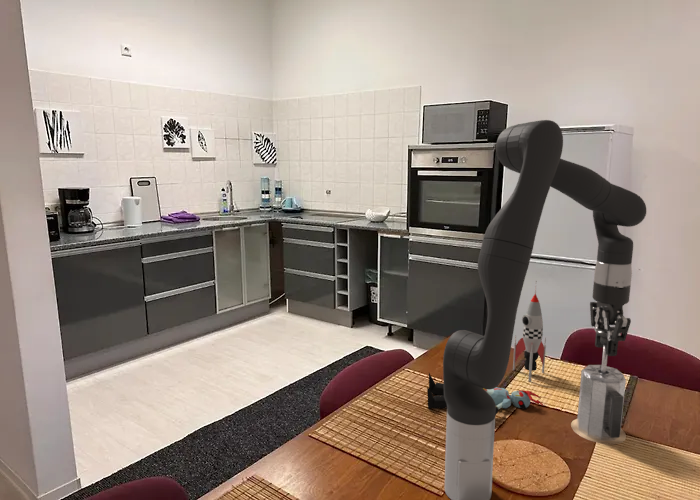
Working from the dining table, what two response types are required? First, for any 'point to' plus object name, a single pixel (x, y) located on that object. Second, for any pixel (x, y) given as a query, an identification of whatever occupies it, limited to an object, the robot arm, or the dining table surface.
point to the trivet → (618, 440)
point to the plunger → (603, 340)
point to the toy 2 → (531, 338)
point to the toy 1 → (498, 394)
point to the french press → (601, 403)
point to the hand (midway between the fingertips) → (605, 350)
